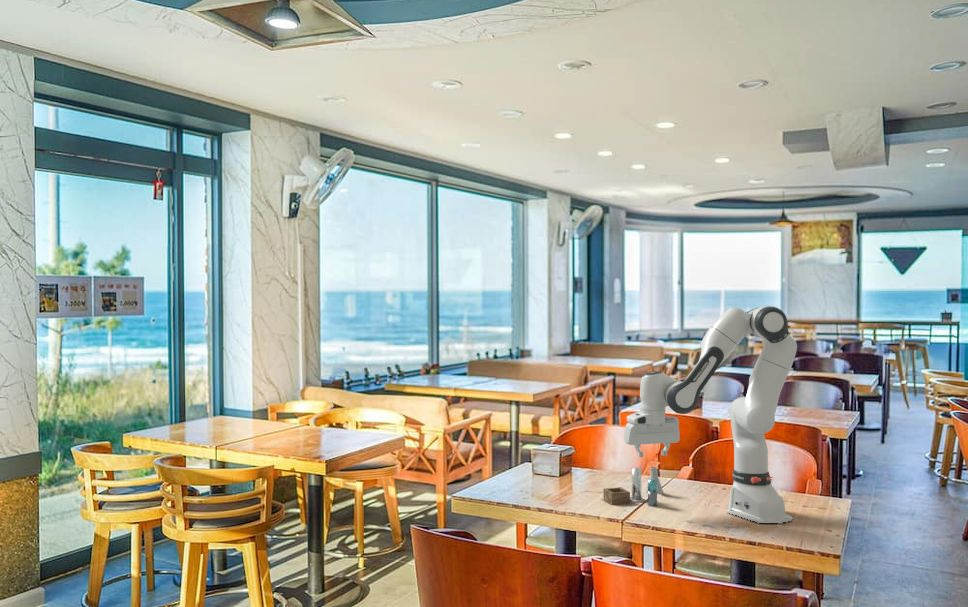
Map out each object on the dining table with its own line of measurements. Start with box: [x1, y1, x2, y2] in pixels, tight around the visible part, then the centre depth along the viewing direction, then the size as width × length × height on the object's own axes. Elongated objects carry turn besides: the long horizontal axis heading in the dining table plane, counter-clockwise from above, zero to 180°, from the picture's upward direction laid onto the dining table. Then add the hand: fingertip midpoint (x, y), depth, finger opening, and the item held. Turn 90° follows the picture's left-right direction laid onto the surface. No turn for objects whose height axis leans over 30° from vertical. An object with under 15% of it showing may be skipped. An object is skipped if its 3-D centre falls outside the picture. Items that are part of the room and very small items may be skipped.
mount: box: [601, 487, 648, 506], centre depth 273 cm, size 8×15×5 cm, turn 106°
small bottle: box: [647, 478, 658, 508], centre depth 267 cm, size 3×3×10 cm
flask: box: [644, 466, 665, 496], centre depth 286 cm, size 7×7×10 cm
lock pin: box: [631, 467, 643, 500], centre depth 274 cm, size 3×3×11 cm
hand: (652, 456), depth 267 cm, fingers open, 8 cm apart
